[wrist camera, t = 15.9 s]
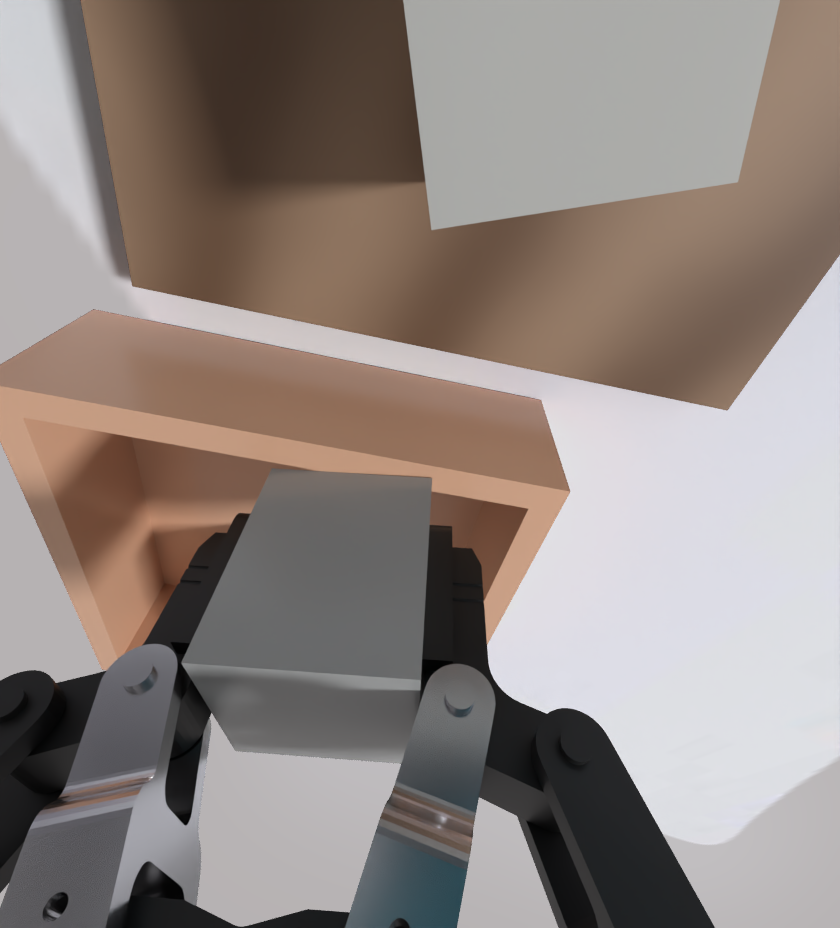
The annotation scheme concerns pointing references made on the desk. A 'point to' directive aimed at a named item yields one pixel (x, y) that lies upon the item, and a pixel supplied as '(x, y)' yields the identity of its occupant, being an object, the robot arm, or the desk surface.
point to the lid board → (407, 212)
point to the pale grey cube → (580, 99)
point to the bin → (246, 456)
